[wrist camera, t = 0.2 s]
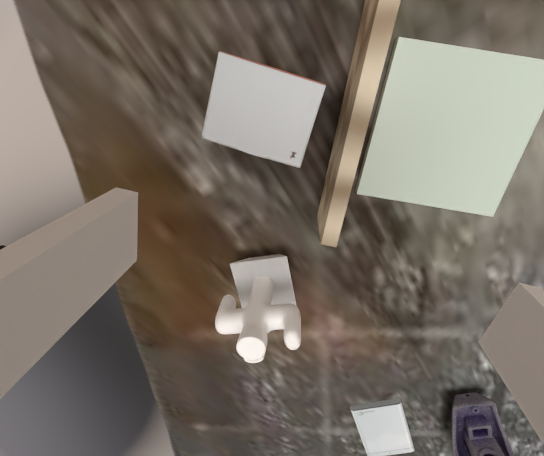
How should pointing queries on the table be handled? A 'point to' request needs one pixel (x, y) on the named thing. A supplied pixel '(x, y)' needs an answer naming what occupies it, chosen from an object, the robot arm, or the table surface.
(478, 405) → the toy boat
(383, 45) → the wooden screen
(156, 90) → the table surface
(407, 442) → the hard drive
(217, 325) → the figurine
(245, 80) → the small box
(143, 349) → the table surface
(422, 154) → the display plate
